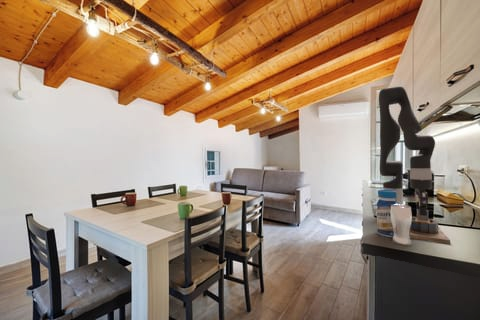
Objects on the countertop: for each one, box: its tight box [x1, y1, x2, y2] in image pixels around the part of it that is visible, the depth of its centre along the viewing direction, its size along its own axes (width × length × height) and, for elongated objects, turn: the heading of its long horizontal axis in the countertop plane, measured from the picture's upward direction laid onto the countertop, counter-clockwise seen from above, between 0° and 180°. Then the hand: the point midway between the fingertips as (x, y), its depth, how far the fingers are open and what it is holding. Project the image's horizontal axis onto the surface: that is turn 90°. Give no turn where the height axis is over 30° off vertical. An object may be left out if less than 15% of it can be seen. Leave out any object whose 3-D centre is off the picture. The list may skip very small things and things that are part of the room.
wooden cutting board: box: [410, 226, 451, 245], centre depth 92 cm, size 20×14×2 cm
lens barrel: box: [410, 216, 439, 234], centre depth 92 cm, size 10×10×4 cm
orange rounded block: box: [415, 208, 430, 223], centre depth 91 cm, size 5×5×9 cm
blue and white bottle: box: [375, 189, 398, 238], centre depth 91 cm, size 8×8×20 cm
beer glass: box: [390, 204, 413, 246], centre depth 82 cm, size 7×7×15 cm
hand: (421, 213), depth 92 cm, fingers open, 8 cm apart
